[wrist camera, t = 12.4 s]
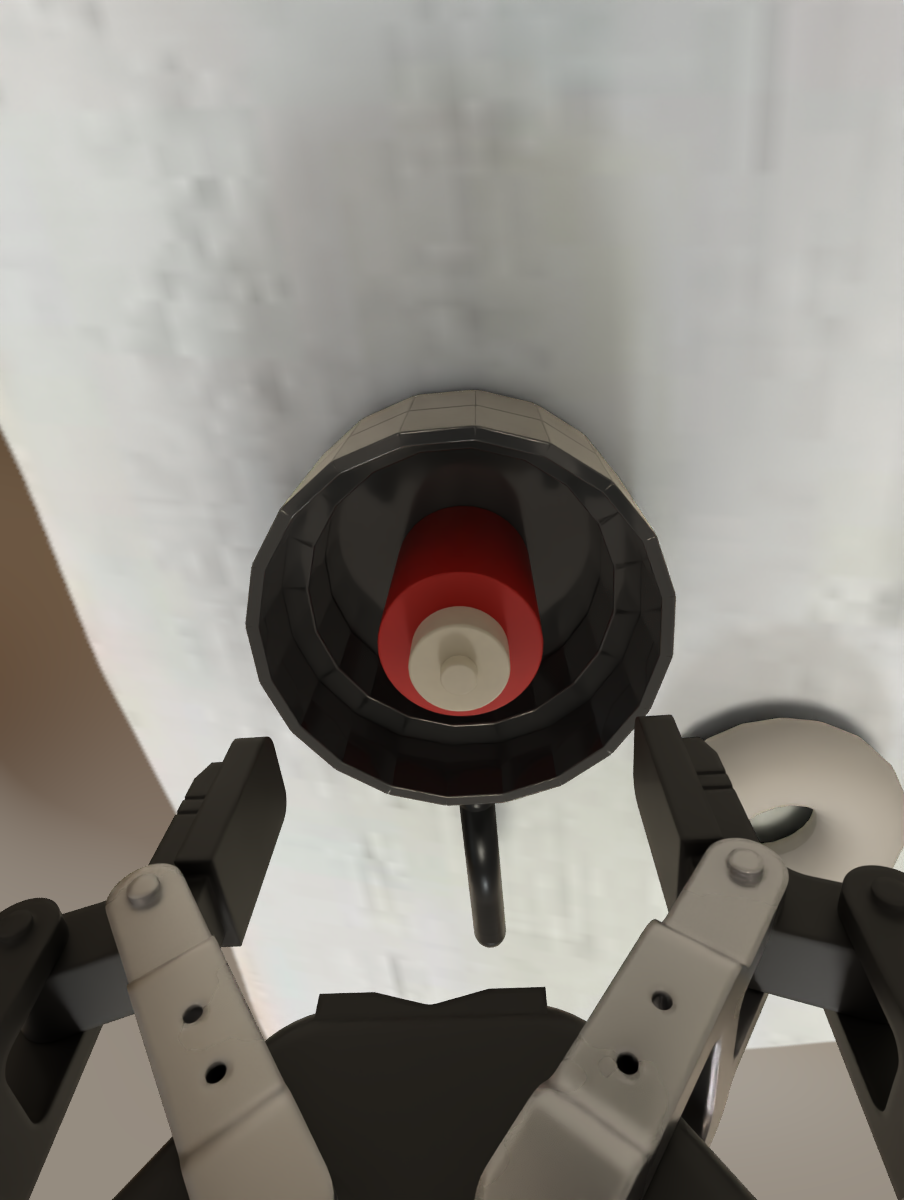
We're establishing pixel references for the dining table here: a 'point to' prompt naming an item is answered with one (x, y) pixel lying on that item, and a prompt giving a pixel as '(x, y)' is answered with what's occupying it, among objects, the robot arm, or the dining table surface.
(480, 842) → the handle
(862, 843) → the donut
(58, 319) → the dining table surface
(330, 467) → the grey round hollow bowl
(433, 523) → the ketchup bottle
